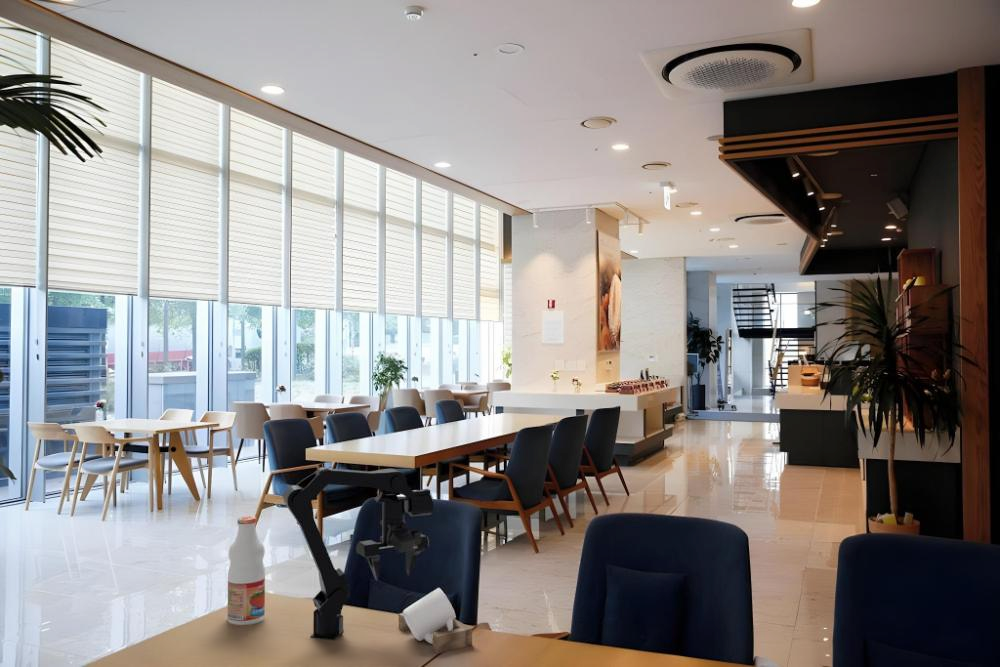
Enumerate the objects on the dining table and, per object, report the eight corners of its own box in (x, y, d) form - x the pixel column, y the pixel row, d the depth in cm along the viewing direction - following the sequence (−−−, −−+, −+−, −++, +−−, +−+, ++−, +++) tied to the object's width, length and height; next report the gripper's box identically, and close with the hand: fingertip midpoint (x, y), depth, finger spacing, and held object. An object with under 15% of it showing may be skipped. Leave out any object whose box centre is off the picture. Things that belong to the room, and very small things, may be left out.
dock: (436, 653, 186) (436, 636, 186) (398, 629, 202) (398, 613, 203) (472, 644, 192) (472, 628, 192) (432, 621, 208) (432, 606, 208)
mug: (425, 648, 186) (463, 622, 190) (400, 606, 192) (437, 582, 196) (427, 658, 193) (463, 633, 197) (402, 617, 199) (438, 594, 203)
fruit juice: (231, 618, 210) (233, 514, 211) (267, 617, 211) (268, 514, 212) (223, 631, 201) (224, 522, 202) (260, 629, 202) (261, 521, 203)
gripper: (374, 527, 193) (373, 591, 192) (439, 519, 203) (439, 579, 203) (355, 519, 202) (355, 580, 201) (419, 511, 212) (418, 569, 212)
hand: (393, 577), depth 204 cm, fingers open, 9 cm apart
